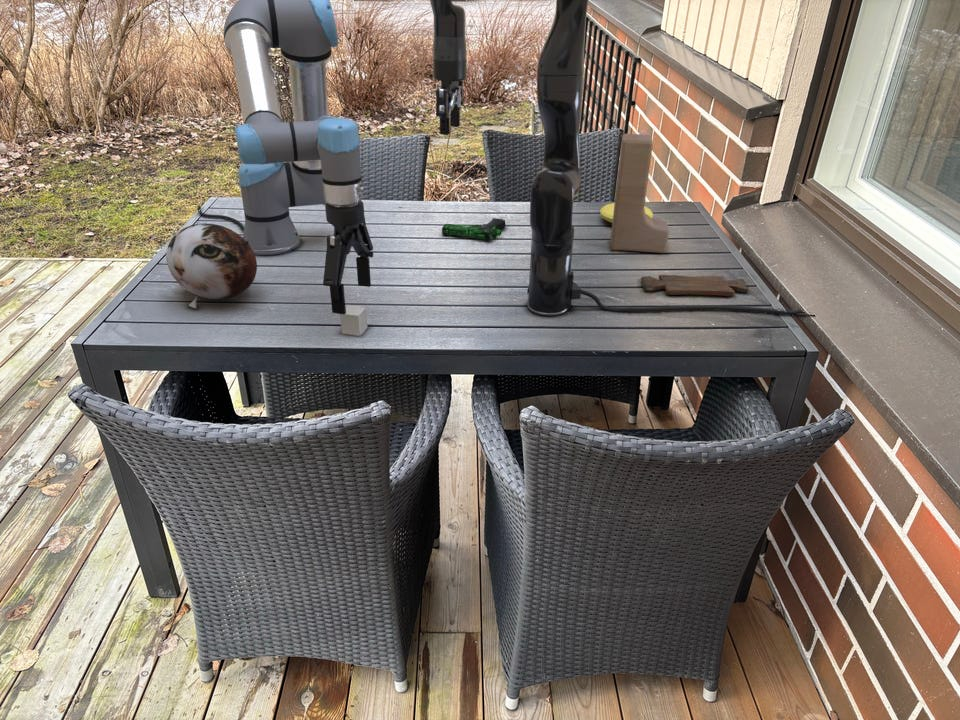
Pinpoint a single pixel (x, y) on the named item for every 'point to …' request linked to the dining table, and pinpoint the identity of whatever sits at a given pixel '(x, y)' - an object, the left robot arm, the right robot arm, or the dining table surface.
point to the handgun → (476, 230)
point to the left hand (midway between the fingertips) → (352, 298)
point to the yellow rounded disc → (609, 210)
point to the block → (354, 320)
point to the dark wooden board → (694, 285)
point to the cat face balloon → (211, 261)
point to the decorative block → (635, 200)
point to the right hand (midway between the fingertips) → (450, 130)
